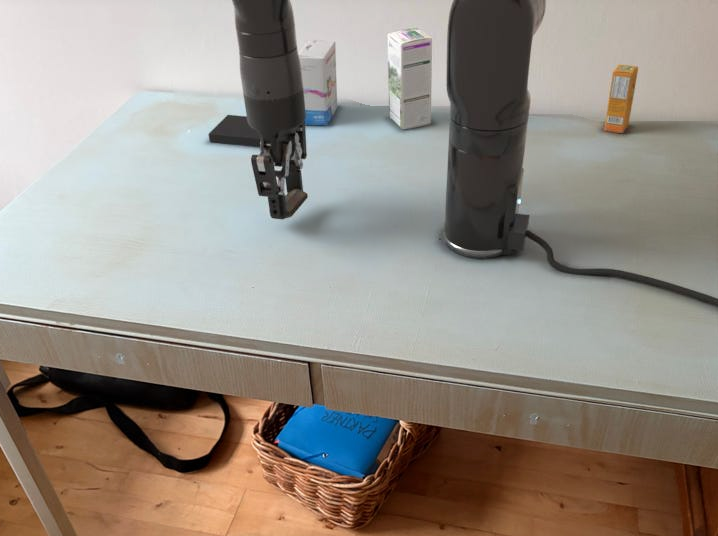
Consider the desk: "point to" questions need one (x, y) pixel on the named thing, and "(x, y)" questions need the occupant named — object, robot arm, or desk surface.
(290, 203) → the block
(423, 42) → the syrup box
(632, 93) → the supplement box
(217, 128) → the black pad
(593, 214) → the desk surface
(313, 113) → the ink box
